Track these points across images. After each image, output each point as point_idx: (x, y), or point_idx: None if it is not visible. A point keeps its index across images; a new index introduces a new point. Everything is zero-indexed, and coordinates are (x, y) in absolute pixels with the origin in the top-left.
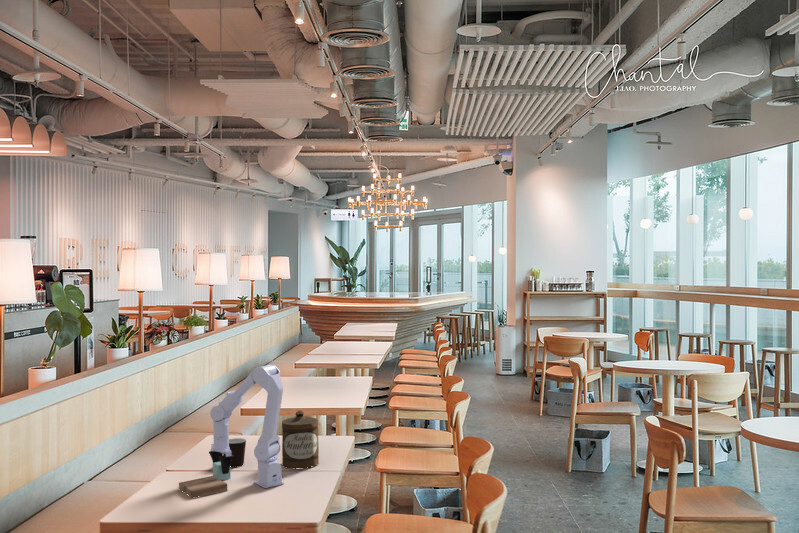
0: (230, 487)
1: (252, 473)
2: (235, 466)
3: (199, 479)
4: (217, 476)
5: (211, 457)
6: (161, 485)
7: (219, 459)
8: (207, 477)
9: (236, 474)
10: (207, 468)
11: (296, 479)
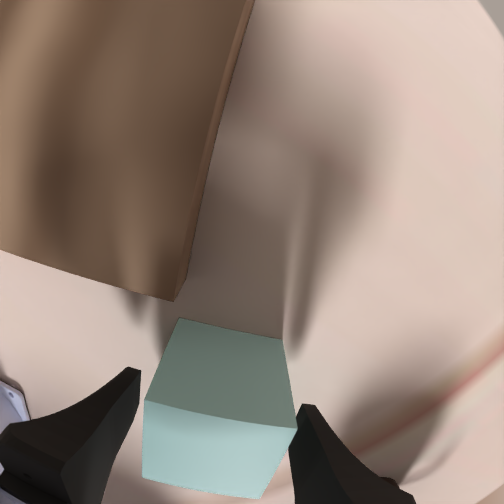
0: (14, 276)
1: None
2: None
3: (171, 139)
4: (183, 339)
5: (366, 472)
6: (444, 19)
7: (76, 446)
8: (166, 235)
9: None
10: (459, 407)
11: None
